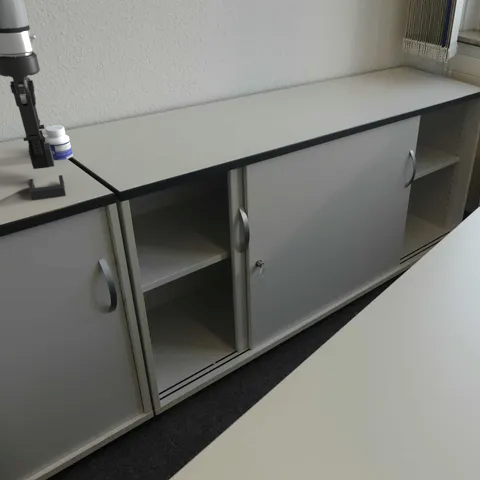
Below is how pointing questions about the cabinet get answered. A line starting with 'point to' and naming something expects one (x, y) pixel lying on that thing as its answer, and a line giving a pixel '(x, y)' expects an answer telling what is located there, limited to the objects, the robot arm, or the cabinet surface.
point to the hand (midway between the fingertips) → (41, 163)
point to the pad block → (48, 153)
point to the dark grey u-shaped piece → (47, 190)
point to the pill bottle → (58, 142)
